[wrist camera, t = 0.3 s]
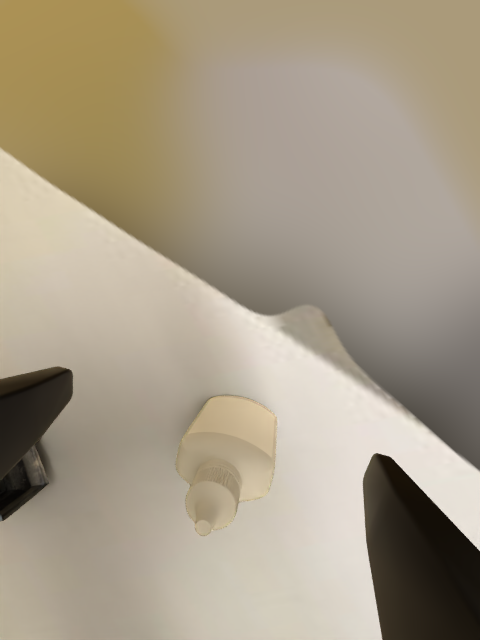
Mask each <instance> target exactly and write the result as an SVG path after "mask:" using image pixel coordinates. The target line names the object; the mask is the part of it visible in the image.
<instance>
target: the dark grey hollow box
mask: <svg viewBox="0 0 480 640" xmlns="http://www.w3.org/2000/svg"><path fill="white" fill-rule="evenodd" d="M48 484H49V481H48V478H47V476H46V473H45V470H44V467H43V465H42V463H41V460H40V457H39V454H38V451H37V449H36V446H35V445H34V446H33V447H32V448H31V449H30V450H29V451H28V452H27V453H26V454H25V456H24V457H23V458H22V459H21V460H20V461H19V462H18V463H17V464H16V465H15V466H14V467H13V468H12V469H11V470H10V471H9V472H8V473H7V474H6V475H5V477H4V478H3V479H2V480H1V481H0V521H4V520H5V519H7V518H8V517H9V516H10V515H12V514H13V513H14V512H15V511H17V510H18V509H19V508H20V507H21V506H22V505H24V504H25V503H26V502H27V501H29V500H30V499H31V498H32V497H34V496H35V495H36V494H37V493H38V492H39V491H41V490H42V489H43V488H44V487H45V486H47V485H48Z"/></svg>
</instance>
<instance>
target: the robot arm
mask: <svg viewBox="0 0 480 640" xmlns="http://www.w3.org/2000/svg"><path fill="white" fill-rule="evenodd" d="M72 394H73V373H72V371H71V370H70V369H66V368H63V367H53V368H48V369H44V370H39V371H35V372H30V373H26V374H22V375H17V376H13V377H8V378H4V379H0V481H1V480H2V479H3V478H4V477H5V475H6V474H7V473H8V472H9V471H10V470H11V469H12V468H13V467H14V466H15V465H16V464H17V463H18V462H19V461H20V460H21V459H22V458H23V457H24V456H25V454H26V453H27V452H28V451H29V450H30V449H31V448H32V447H33V446H34V445H35V444H36V443H37V441H38V440H39V439H40V438H41V437H42V435H43V434H44V433H45V432H46V430H47V429H48V428H49V427H50V425H51V424H52V423H53V421H54V420H55V419H56V418H57V416H58V415H59V414H60V413H61V411H62V410H63V409H64V407H65V406H66V405H67V404H68V402H69V401H70V399H71V397H72ZM363 494H364V511H365V528H366V541H367V549H368V555H369V561H370V567H371V573H372V579H373V585H374V592H375V598H376V604H377V610H378V616H379V622H380V628H381V634H382V640H480V551H479V550H478V549H477V548H476V547H475V546H474V545H473V544H472V543H471V541H470V540H469V539H468V538H467V537H466V536H465V535H464V534H463V533H462V532H461V531H460V530H459V529H458V528H457V527H456V526H455V525H454V523H453V522H452V521H451V520H450V519H449V518H448V517H447V516H446V515H445V514H444V513H443V512H442V511H441V510H440V509H439V508H438V507H437V505H436V504H435V503H434V502H433V501H432V500H431V499H430V498H429V497H428V496H427V495H426V494H425V493H424V492H423V491H422V490H421V489H420V488H419V486H418V485H417V484H416V483H415V482H414V481H413V480H412V479H411V478H410V477H409V476H408V475H407V474H406V473H405V472H404V471H403V470H402V468H401V467H400V466H399V465H398V464H397V463H396V462H395V461H394V460H393V459H392V458H391V457H389V456H385V455H382V454H378V453H376V454H374V455H373V456H372V458H371V460H370V463H369V465H368V468H367V470H366V472H365V475H364V478H363Z"/></svg>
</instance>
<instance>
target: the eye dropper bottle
mask: <svg viewBox="0 0 480 640" xmlns="http://www.w3.org/2000/svg"><path fill="white" fill-rule="evenodd" d="M276 438H277V417H276V416H275V414H274V413H273V412H272V411H271V410H269V409H268V408H266V407H265V406H263V405H261V404H260V403H258V402H256V401H253V400H251V399H248V398H244V397H239V396H216V397H212V398H210V399H209V400H208V401H207V402H206V404H205V405H204V407H203V408H202V409H201V411H200V412H199V414H198V415H197V417H196V418H195V420H194V421H193V423H192V424H191V426H190V427H189V428H188V430H187V432H186V433H185V435H184V436H183V438H182V440H181V442H180V445H179V448H178V453H177V457H176V470H177V472H178V473H179V475H180V476H181V477H182V478H183V479H184V480H185V481H186V482H187V483H189V484H190V485H191V486H190V488H189V490H188V492H187V495H186V500H185V501H186V503H185V504H186V509H187V512H188V514H189V516H190V518H191V519H192V520H193V521H194V522H195V530H196V532H197V533H198V534H199V535H201V536H207V535H208V534H210V532H211V531H212V530H218V529H222V528H224V527H227V525H229V524H230V523H231V522H232V520H233V519H234V517H235V515H236V512H237V507H238V503H239V502H242V501H251V500H255V499H259V498H262V497H264V496H265V495H266V494H267V493H268V491H269V489H270V486H271V482H272V478H273V474H274V469H275V458H276Z"/></svg>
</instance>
